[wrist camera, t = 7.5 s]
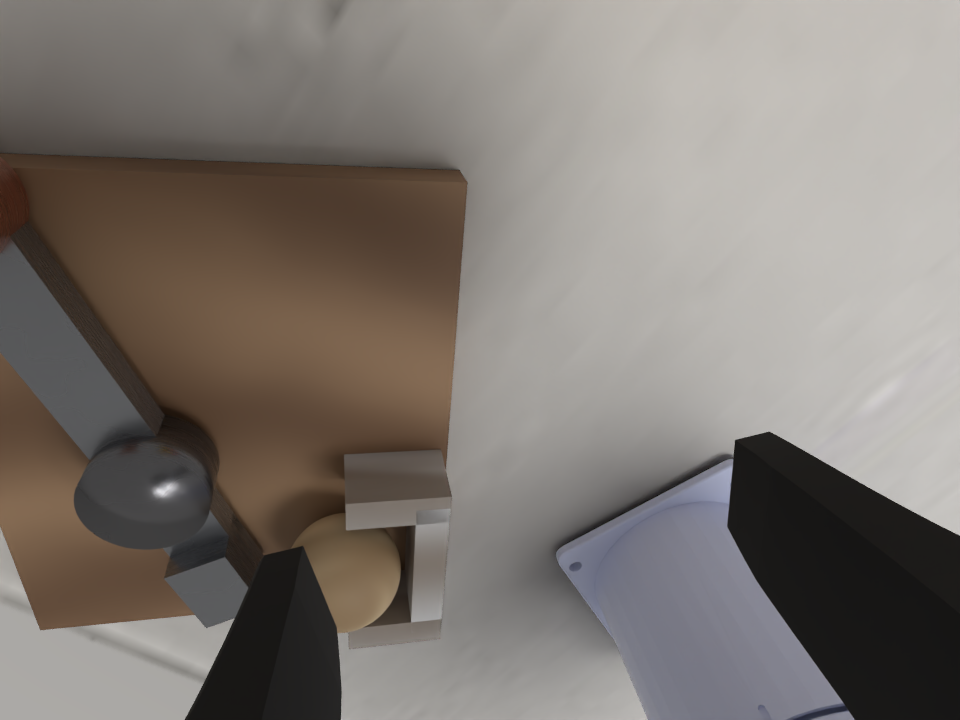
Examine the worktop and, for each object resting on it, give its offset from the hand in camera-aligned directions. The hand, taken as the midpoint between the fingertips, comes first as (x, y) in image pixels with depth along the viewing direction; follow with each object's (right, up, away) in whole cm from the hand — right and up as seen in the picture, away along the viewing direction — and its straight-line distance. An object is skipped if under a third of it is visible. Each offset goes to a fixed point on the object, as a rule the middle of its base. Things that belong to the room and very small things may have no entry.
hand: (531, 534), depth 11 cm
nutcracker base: (-8, +1, +9) cm, 12 cm away
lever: (-10, +2, +6) cm, 12 cm away
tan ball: (-5, -3, +11) cm, 12 cm away
